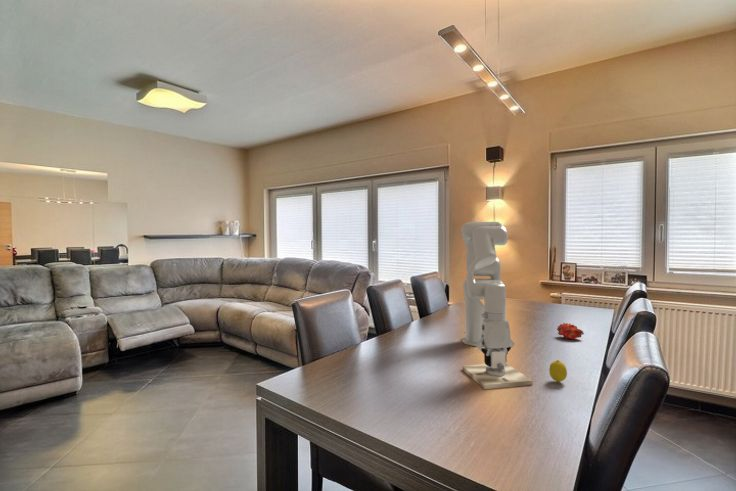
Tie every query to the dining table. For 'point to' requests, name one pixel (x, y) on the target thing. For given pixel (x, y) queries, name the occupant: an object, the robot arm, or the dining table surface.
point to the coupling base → (496, 376)
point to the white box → (498, 358)
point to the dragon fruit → (569, 331)
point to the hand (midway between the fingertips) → (495, 364)
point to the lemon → (558, 371)
